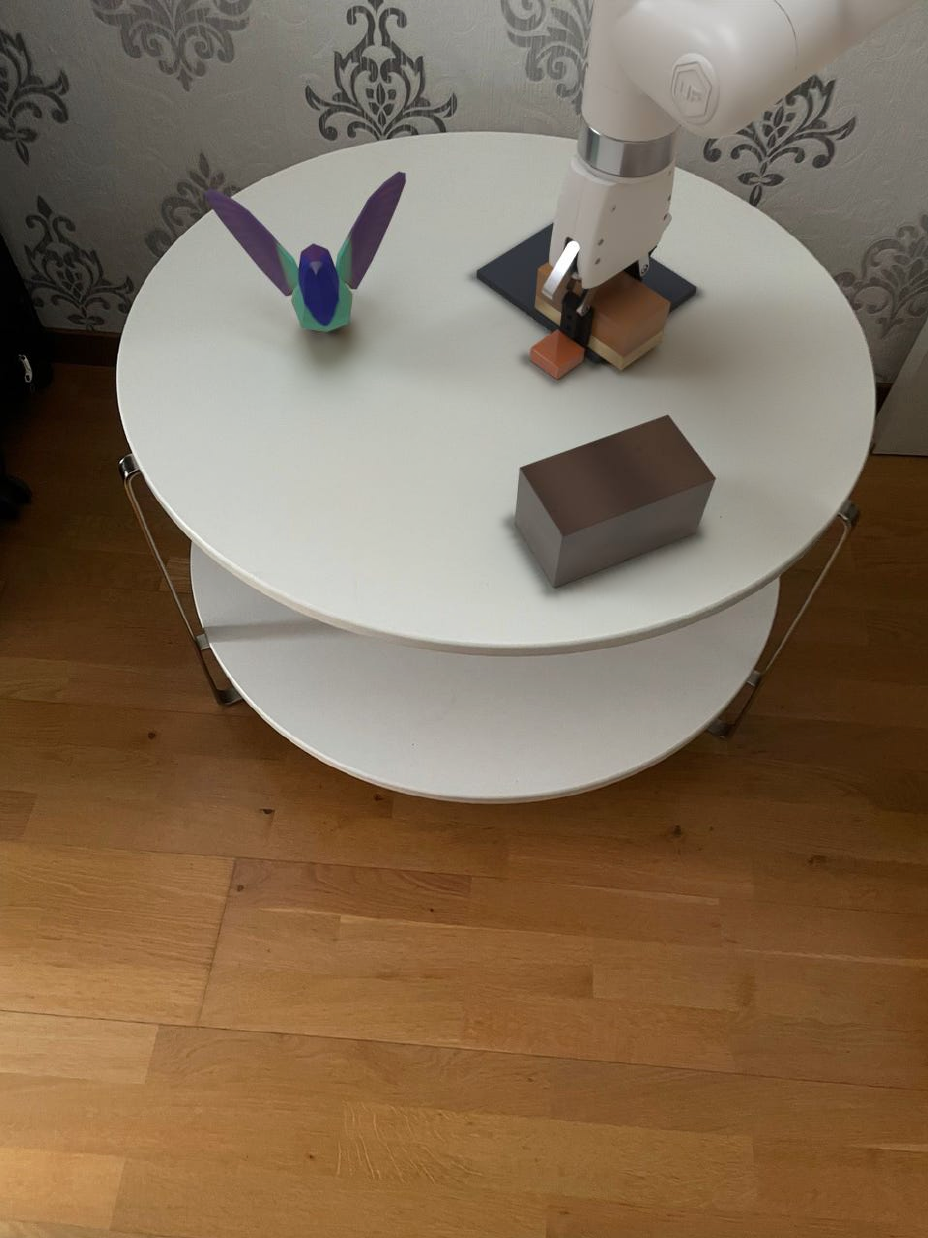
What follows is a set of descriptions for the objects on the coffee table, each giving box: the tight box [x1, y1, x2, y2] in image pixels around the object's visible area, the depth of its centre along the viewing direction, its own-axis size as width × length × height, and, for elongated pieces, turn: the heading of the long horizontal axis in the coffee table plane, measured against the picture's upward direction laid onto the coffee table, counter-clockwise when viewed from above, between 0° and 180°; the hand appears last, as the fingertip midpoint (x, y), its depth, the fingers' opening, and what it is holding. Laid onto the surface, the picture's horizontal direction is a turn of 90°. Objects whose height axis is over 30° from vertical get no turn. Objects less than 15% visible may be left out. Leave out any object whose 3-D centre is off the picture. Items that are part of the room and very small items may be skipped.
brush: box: [535, 262, 671, 371], centre depth 86 cm, size 11×6×4 cm, turn 43°
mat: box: [476, 222, 698, 365], centre depth 91 cm, size 16×14×1 cm
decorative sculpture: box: [204, 171, 407, 333], centre depth 81 cm, size 17×18×15 cm
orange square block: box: [529, 330, 585, 381], centre depth 86 cm, size 4×4×2 cm
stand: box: [514, 414, 717, 589], centre depth 74 cm, size 13×7×7 cm, turn 115°
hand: (597, 320), depth 87 cm, fingers closed on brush, 5 cm apart
